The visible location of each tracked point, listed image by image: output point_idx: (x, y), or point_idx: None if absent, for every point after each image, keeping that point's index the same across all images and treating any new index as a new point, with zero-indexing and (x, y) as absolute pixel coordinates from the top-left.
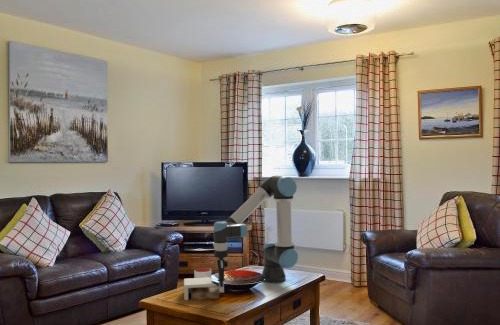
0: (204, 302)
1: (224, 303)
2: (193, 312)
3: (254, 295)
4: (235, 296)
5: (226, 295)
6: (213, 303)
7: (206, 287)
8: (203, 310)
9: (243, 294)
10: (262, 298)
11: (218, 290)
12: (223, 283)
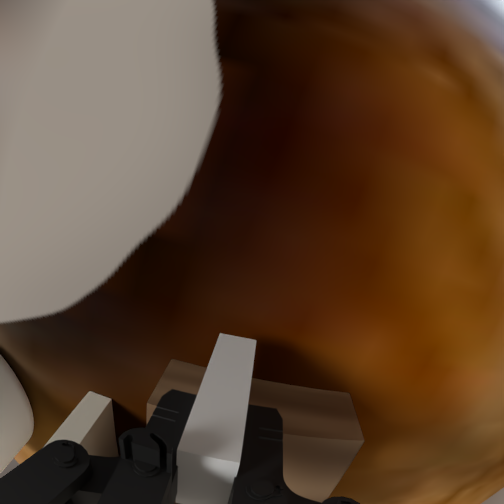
0: (386, 485)
1: (498, 368)
2: (483, 500)
3: (398, 2)
4: (372, 207)
5: (285, 302)
6: (446, 439)
7: (97, 455)
8: (497, 472)
9: (325, 83)
10: (491, 5)
11: (313, 442)
12: (242, 426)
